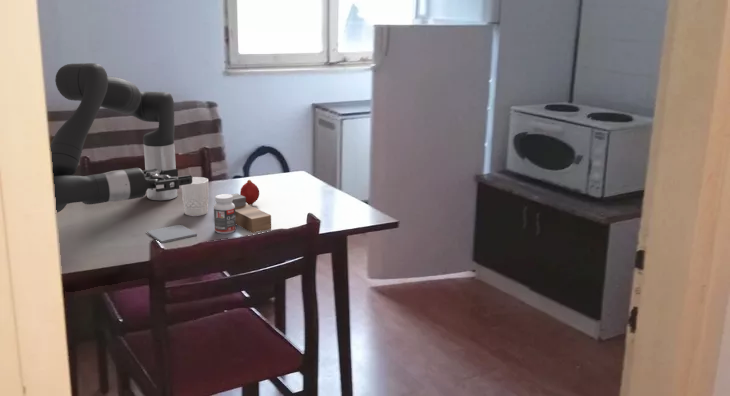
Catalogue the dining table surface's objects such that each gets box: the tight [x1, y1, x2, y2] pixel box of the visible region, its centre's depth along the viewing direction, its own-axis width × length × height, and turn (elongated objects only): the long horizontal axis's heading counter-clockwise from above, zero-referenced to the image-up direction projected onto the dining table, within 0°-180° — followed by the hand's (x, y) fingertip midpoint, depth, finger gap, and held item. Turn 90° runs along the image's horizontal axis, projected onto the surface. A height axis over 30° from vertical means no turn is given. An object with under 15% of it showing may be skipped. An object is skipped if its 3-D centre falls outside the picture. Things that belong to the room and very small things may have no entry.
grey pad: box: [146, 224, 198, 244], centre depth 200 cm, size 10×10×1 cm
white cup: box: [180, 176, 209, 217], centre depth 218 cm, size 8×8×10 cm
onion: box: [239, 179, 260, 206], centre depth 227 cm, size 6×6×8 cm
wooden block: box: [230, 193, 272, 234], centre depth 211 cm, size 20×6×6 cm, turn 38°
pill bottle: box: [213, 193, 237, 235], centre depth 202 cm, size 6×6×10 cm
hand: (184, 175), depth 192 cm, fingers open, 8 cm apart
